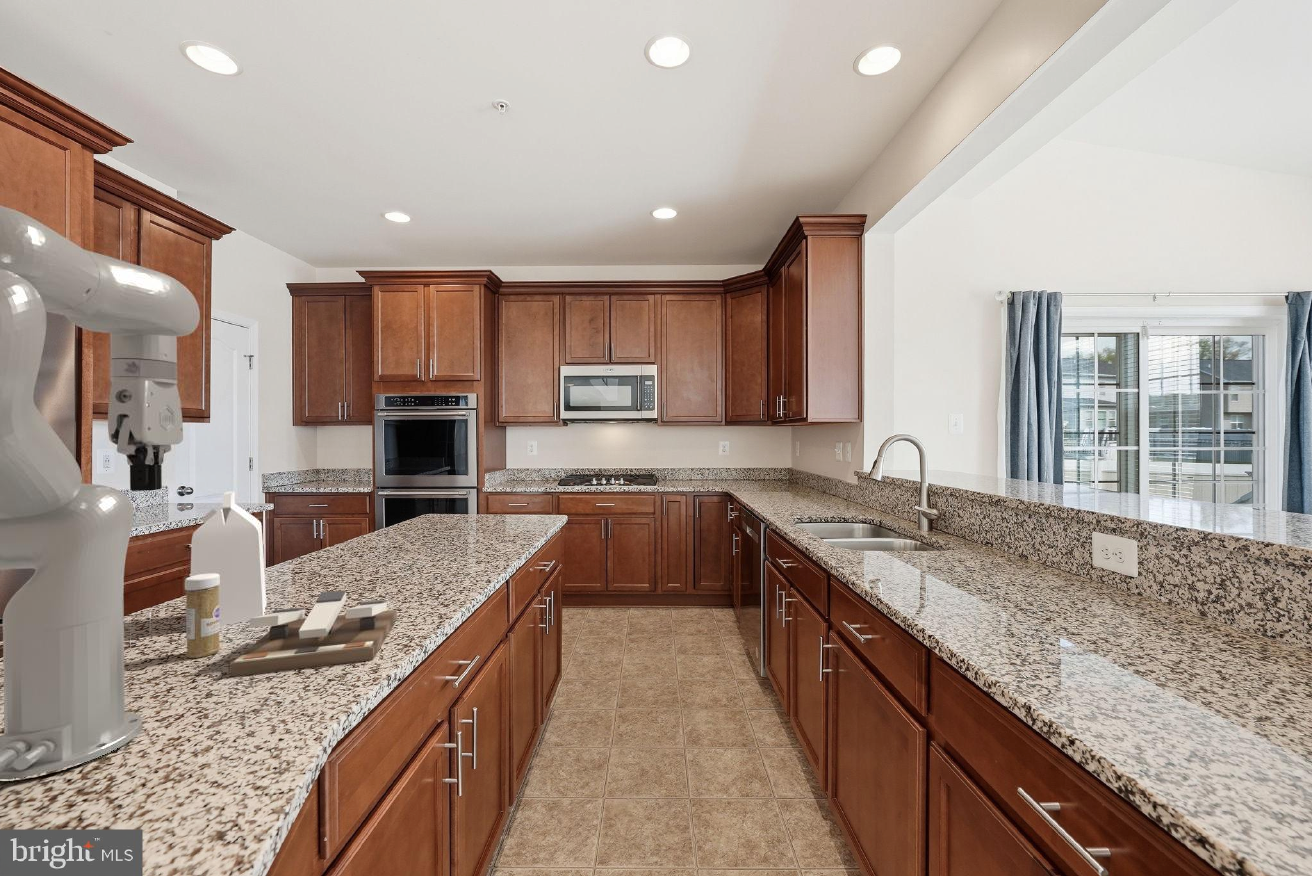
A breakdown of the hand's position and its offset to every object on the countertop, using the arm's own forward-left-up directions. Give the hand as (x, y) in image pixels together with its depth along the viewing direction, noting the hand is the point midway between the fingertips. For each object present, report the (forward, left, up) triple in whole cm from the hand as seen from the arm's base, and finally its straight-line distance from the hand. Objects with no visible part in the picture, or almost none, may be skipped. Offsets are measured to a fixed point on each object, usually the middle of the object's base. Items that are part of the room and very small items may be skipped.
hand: (146, 489), depth 82 cm
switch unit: (+5, -23, -29) cm, 37 cm away
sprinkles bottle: (+7, -4, -29) cm, 30 cm away
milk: (+28, +1, -29) cm, 41 cm away
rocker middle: (+5, -23, -24) cm, 33 cm away
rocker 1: (+5, -16, -24) cm, 29 cm away
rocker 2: (+5, -30, -24) cm, 38 cm away
